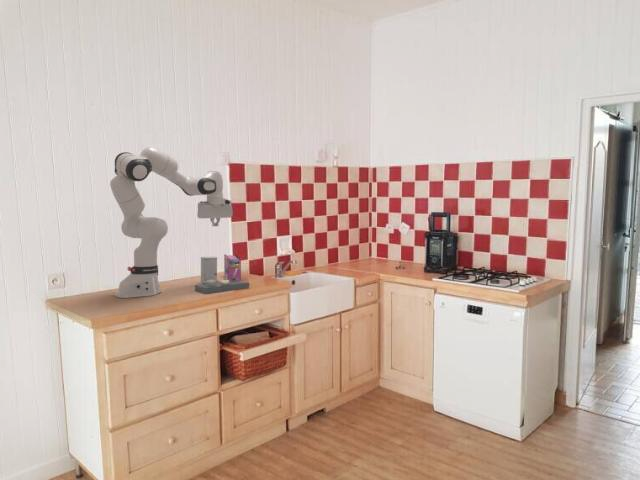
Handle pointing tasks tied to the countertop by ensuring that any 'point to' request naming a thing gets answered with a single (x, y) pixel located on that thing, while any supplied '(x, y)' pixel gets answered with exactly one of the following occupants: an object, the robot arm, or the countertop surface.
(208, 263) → the skincare box
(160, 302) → the countertop surface
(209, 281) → the grey button
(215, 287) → the panel
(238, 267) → the lever
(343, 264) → the countertop surface
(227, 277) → the gum box
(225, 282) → the cream button
